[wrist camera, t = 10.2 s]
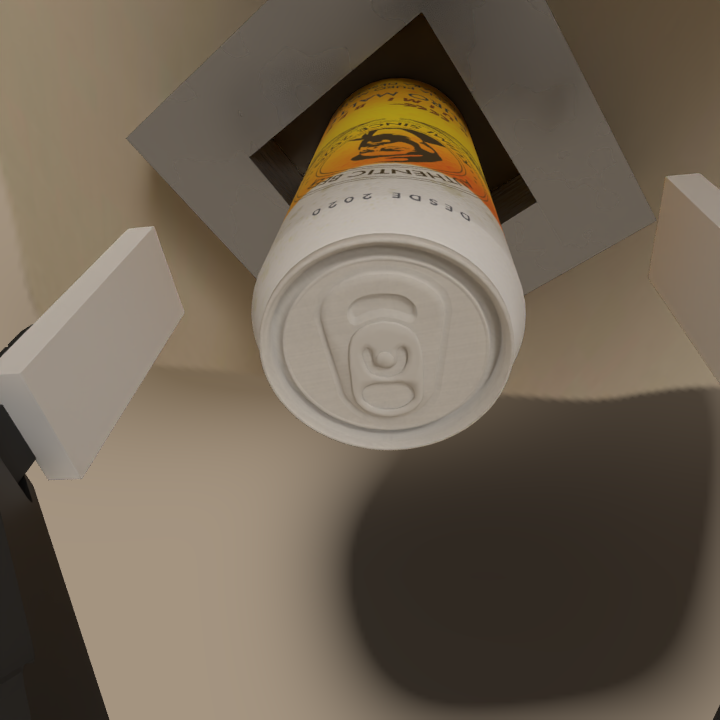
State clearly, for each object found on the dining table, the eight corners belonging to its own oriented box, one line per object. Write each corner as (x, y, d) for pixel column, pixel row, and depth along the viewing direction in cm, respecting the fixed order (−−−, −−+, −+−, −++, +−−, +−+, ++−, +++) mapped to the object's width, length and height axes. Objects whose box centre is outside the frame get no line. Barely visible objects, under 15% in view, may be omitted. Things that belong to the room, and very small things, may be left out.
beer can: (471, 66, 22) (547, 205, 10) (469, 218, 26) (525, 460, 13) (314, 81, 23) (208, 228, 11) (333, 227, 26) (268, 465, 14)
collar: (159, 116, 24) (125, 138, 21) (447, -161, 19) (454, -181, 16) (363, 347, 30) (358, 388, 27) (627, 189, 25) (656, 220, 22)
